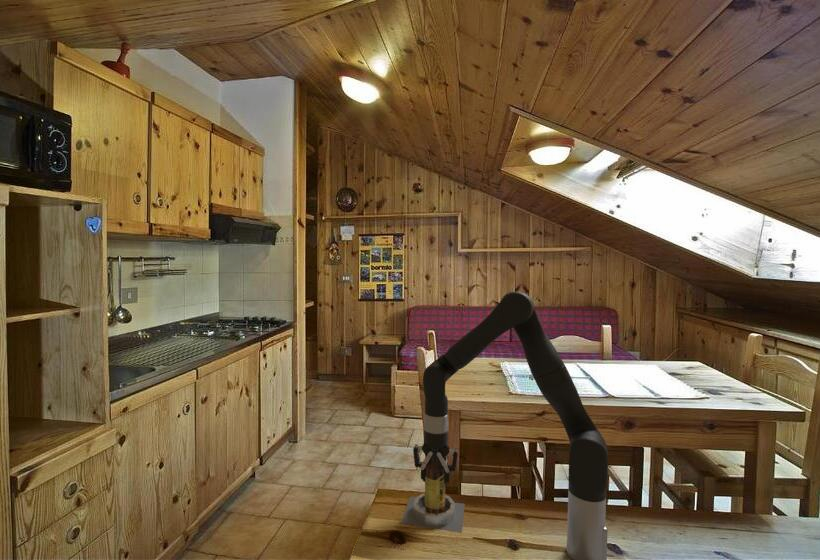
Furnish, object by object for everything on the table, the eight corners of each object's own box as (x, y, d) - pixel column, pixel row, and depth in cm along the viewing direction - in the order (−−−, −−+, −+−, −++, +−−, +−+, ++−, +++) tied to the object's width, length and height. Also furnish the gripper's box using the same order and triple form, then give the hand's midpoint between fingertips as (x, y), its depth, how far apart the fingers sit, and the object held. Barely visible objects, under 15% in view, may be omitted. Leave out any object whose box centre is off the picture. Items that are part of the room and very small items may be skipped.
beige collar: (456, 504, 125) (456, 494, 125) (452, 529, 113) (452, 519, 113) (417, 499, 128) (418, 489, 128) (410, 523, 116) (410, 513, 116)
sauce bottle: (443, 517, 117) (444, 451, 116) (422, 514, 118) (423, 448, 117) (445, 504, 123) (447, 441, 122) (426, 501, 124) (427, 439, 124)
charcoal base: (464, 507, 126) (464, 503, 126) (461, 536, 112) (461, 532, 112) (409, 500, 129) (410, 496, 129) (400, 527, 115) (400, 523, 115)
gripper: (460, 425, 122) (459, 478, 122) (415, 420, 125) (414, 472, 125) (458, 434, 115) (457, 491, 115) (410, 430, 118) (409, 485, 118)
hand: (435, 481), depth 120 cm, fingers closed on sauce bottle, 6 cm apart
